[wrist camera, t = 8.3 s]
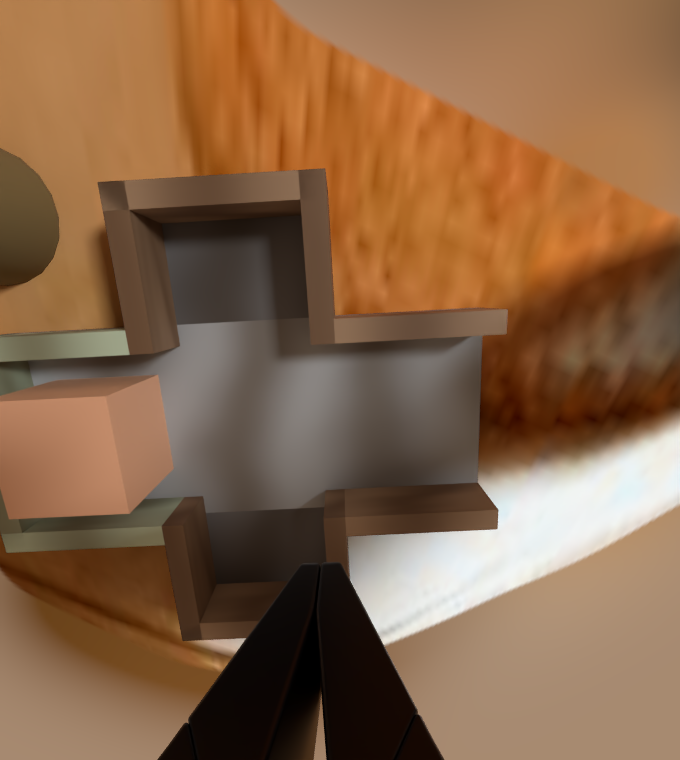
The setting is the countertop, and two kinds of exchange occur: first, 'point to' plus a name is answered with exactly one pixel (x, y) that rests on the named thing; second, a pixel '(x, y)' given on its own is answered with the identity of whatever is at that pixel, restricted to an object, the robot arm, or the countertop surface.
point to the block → (82, 446)
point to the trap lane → (264, 395)
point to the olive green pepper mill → (24, 222)
